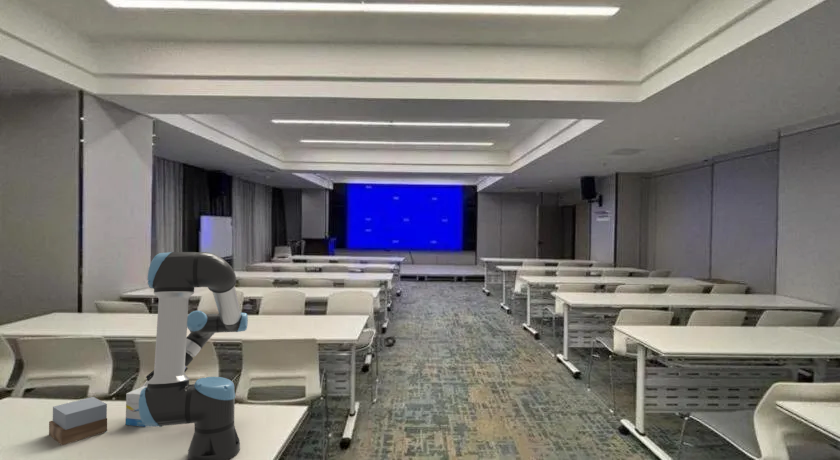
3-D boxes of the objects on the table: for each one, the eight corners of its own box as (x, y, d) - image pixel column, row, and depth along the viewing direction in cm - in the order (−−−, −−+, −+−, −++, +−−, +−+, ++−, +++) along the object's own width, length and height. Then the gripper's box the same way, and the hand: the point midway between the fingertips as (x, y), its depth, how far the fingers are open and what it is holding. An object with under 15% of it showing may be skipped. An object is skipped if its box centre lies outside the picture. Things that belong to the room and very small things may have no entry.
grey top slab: (106, 418, 160) (106, 404, 160) (65, 429, 150) (65, 414, 150) (92, 410, 166) (93, 396, 167) (52, 421, 157) (52, 406, 157)
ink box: (144, 427, 163) (145, 395, 163) (124, 425, 165) (125, 393, 165) (162, 417, 171) (162, 387, 171) (143, 415, 173) (143, 385, 173)
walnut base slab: (107, 432, 159) (107, 418, 159) (61, 446, 149) (62, 431, 149) (92, 423, 167) (93, 409, 167) (48, 435, 156) (49, 421, 156)
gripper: (208, 363, 176) (169, 414, 164) (177, 353, 191) (138, 399, 178) (195, 352, 172) (153, 404, 160) (164, 343, 186) (123, 389, 174)
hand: (145, 401), depth 169 cm, fingers open, 13 cm apart
